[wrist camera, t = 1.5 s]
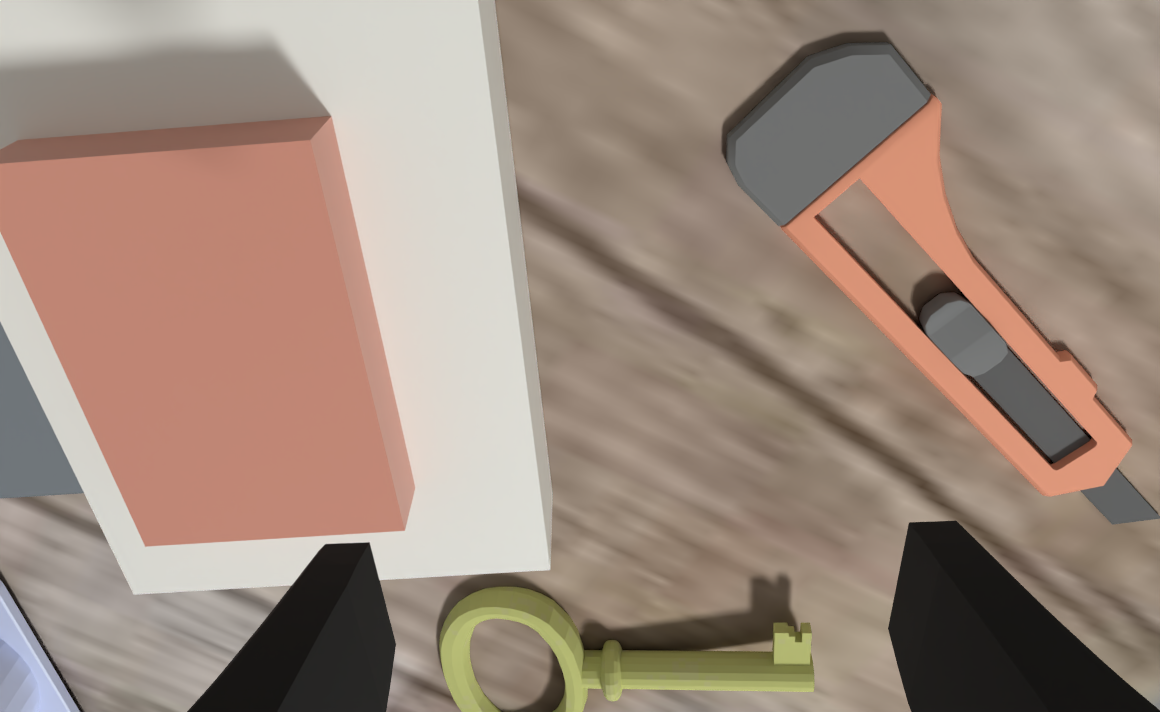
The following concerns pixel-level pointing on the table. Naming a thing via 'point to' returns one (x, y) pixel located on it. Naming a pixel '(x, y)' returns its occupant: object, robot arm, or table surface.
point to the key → (616, 656)
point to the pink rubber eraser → (214, 325)
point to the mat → (28, 437)
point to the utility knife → (918, 201)
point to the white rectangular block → (386, 232)
